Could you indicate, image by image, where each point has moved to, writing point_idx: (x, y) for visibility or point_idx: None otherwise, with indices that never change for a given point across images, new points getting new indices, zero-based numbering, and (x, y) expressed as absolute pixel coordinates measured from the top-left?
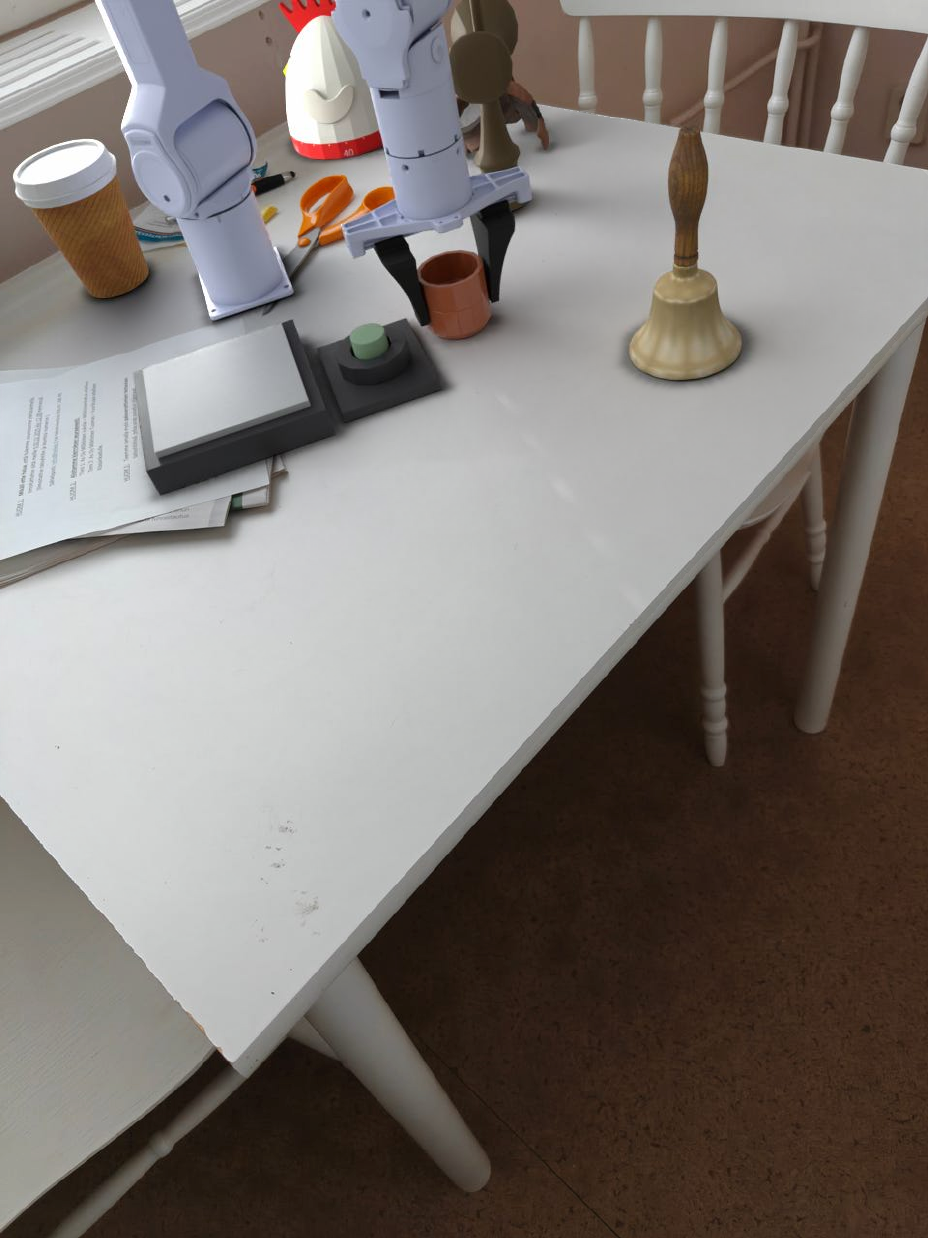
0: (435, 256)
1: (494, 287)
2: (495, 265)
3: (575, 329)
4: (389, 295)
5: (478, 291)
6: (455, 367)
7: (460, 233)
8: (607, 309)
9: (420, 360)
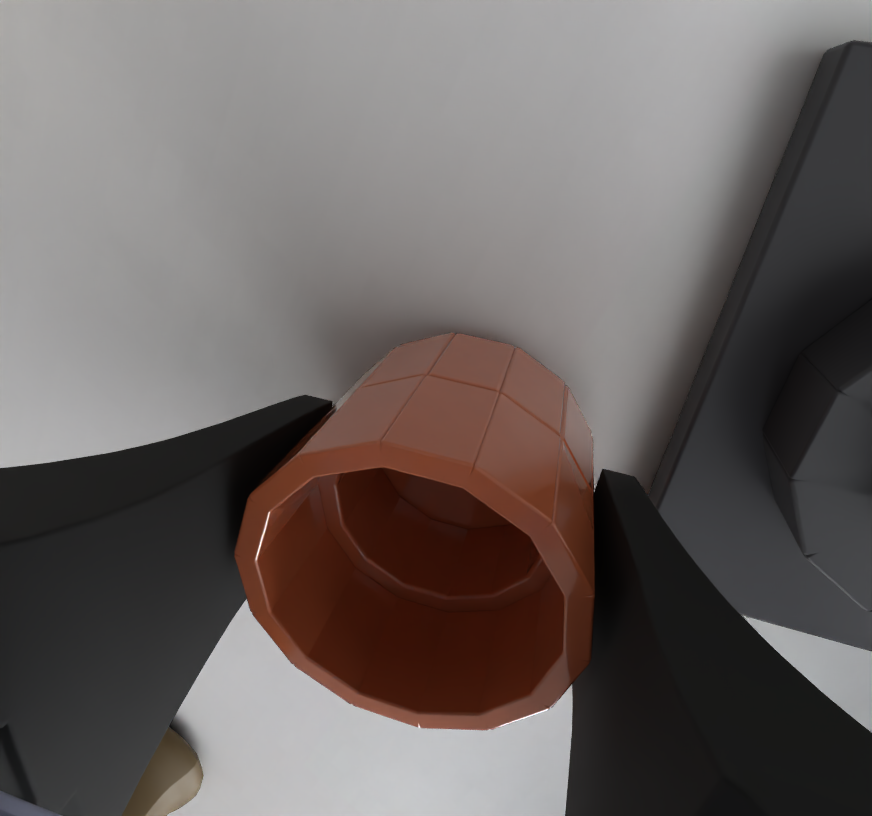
0: (411, 715)
1: (281, 414)
2: (195, 450)
3: (131, 79)
4: (567, 712)
5: (353, 406)
6: (649, 190)
7: (280, 745)
8: (4, 120)
9: (791, 292)
